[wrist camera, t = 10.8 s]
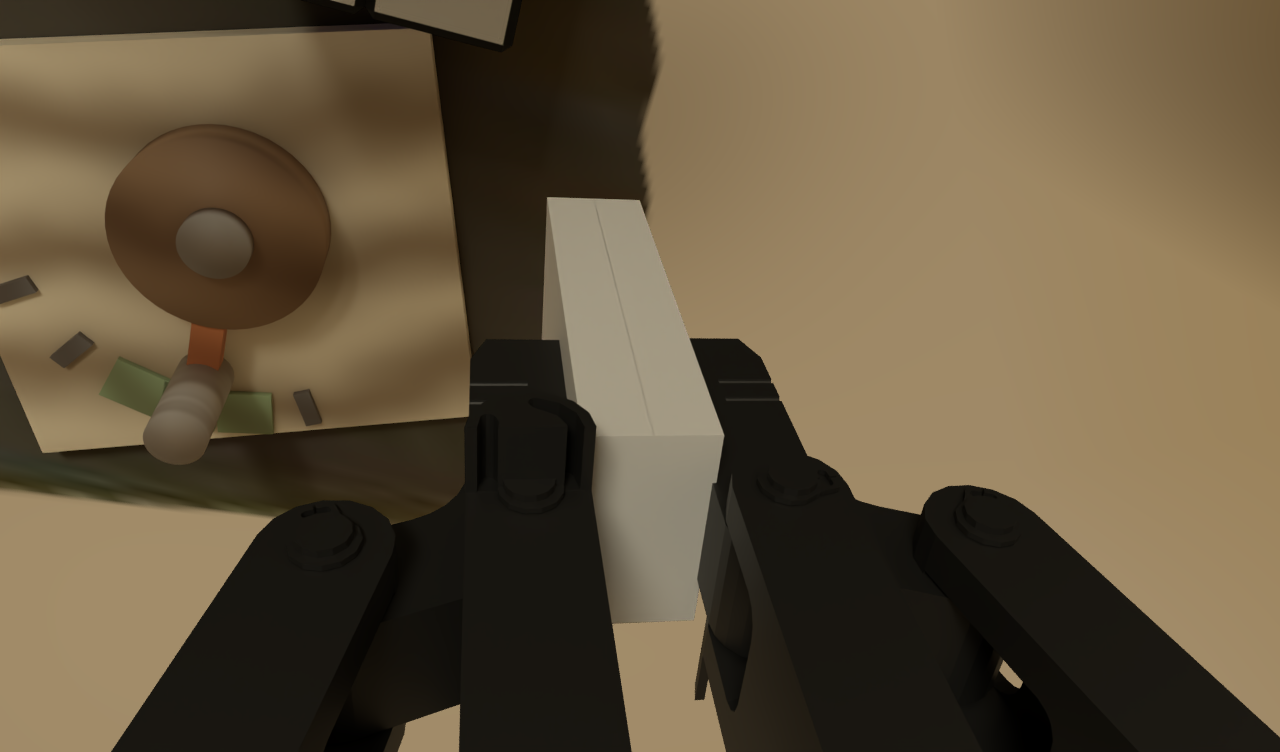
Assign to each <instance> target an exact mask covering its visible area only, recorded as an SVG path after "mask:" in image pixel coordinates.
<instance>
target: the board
mask: <svg viewBox="0 0 1280 752" xmlns="http://www.w3.org/2000/svg"><path fill="white" fill-rule="evenodd" d="M198 124H217V125H227V126H232V127H237V128H241V129H244V130H248V131H251V132H254V133H256V134H258V135H261V136H263V137H265V138H267V139H269V140H271V141H272V142H274V143H276V144H277V145H279V146H281V147H282V148H283V149H285V150H286V151H287V152H289V153H290V154H291V155H293V156H294V157H295V158H296V159H297V160H298V161H299V162H300V163H301V164H302V165H303V166H304V167H305V168H306V170H307V171H308V172H309V173H310V174H311V176H312V177H313V179H314V180H315V182H316V183H317V185H318V186H319V188H320V190H321V192H322V194H323V196H324V198H325V201H326V204H327V207H328V210H329V216H330V221H331V241H330V248H329V251H328V255H327V258H326V261H325V264H324V268H323V271H322V274H321V276H320V279H319V281H318V283H317V285H316V287H315V289H314V290H313V292H312V293H311V295H310V296H309V297H308V298H307V299H306V301H305V302H304V303H303V304H302V305H301V306H300V307H298V308H297V309H296V310H295V311H294V312H292V313H290V314H289V315H287V316H286V317H284V318H282V319H280V320H278V321H275V322H273V323H270V324H267V325H264V326H260V327H255V328H250V329H238V330H229V329H227V335H226V342H225V350H224V357H223V358H224V359H226V360H227V361H228V362H229V363H230V365H231V366H232V368H233V370H234V376H235V377H234V383H233V385H232V387H231V390H230V392H229V395H228V397H227V399H226V402H225V404H224V407H223V409H222V412H221V414H220V416H219V419H218V421H217V424H216V426H215V428H214V431H213V433H212V436H211V438H210V439H212V438H224V437H236V436H247V435H259V434H273V433H282V432H294V431H306V430H317V429H329V428H341V427H353V426H364V425H376V424H388V423H399V422H411V421H423V420H434V419H446V418H458V417H469V388H470V359H471V358H472V356H471V348H470V340H469V331H468V323H467V315H466V307H465V299H464V291H463V283H462V275H461V267H460V258H459V250H458V242H457V234H456V226H455V218H454V210H453V202H452V194H451V186H450V177H449V169H448V161H447V153H446V145H445V137H444V129H443V121H442V113H441V105H440V96H439V88H438V80H437V72H436V64H435V56H434V48H433V40H432V34H429V33H425V32H421V31H417V30H414V29H410V28H406V27H402V26H398V25H394V24H391V23H387V24H362V25H337V26H313V27H288V28H263V29H238V30H213V31H188V32H164V33H139V34H114V35H89V36H64V37H40V38H15V39H0V356H1V358H2V360H3V363H4V365H5V367H6V370H7V372H8V374H9V377H10V379H11V381H12V383H13V386H14V388H15V390H16V393H17V395H18V397H19V400H20V402H21V404H22V406H23V409H24V411H25V413H26V416H27V418H28V420H29V423H30V425H31V427H32V429H33V432H34V434H35V436H36V439H37V441H38V443H39V446H40V448H41V450H42V452H43V453H48V452H60V451H72V450H84V449H95V448H107V447H119V446H130V445H142V444H144V442H143V432H144V430H145V428H146V426H147V424H148V422H149V420H150V418H151V416H152V414H153V412H154V410H155V408H156V407H157V405H158V403H159V401H160V399H161V397H162V395H163V393H164V391H165V389H166V387H167V385H168V383H169V382H170V380H171V378H172V376H173V374H174V372H175V370H176V368H177V366H178V364H179V362H180V361H181V359H182V358H183V357H184V356H186V355H187V354H188V348H189V340H190V331H191V323H190V322H188V321H185V320H182V319H180V318H178V317H176V316H173V315H171V314H169V313H167V312H166V311H164V310H162V309H161V308H159V307H158V306H156V305H154V304H153V303H152V302H151V301H149V300H148V299H147V298H145V297H144V296H143V295H142V294H141V293H140V292H139V291H138V290H137V289H136V288H135V287H134V286H133V285H132V284H131V283H130V282H129V280H128V279H127V278H126V277H125V275H124V274H123V272H122V271H121V269H120V268H119V266H118V265H117V263H116V261H115V259H114V257H113V254H112V252H111V250H110V247H109V243H108V240H107V236H106V230H105V208H106V201H107V198H108V195H109V192H110V189H111V187H112V185H113V183H114V182H115V180H116V178H117V177H118V175H119V174H120V173H121V171H122V170H123V169H124V168H125V166H126V165H127V164H128V163H129V162H130V161H131V160H132V159H133V158H134V157H135V156H136V154H137V153H138V152H139V151H140V150H141V149H143V148H144V147H145V146H146V145H147V144H148V143H149V142H151V141H152V140H154V139H155V138H157V137H158V136H160V135H162V134H165V133H167V132H169V131H171V130H175V129H178V128H181V127H185V126H191V125H198Z"/></svg>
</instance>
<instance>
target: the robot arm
mask: <svg viewBox="0 0 1280 752" xmlns="http://www.w3.org/2000/svg"><path fill="white" fill-rule="evenodd" d="M464 433H465V484H464V485H463V487H462V489H461V490H460V492H459V493H458V495H457V496H455V497H454V498H453V499H452V500H451V501H450V502H449V503H448V504H446V505H445V506H443V507H441V508H440V509H438V510H436V511H434V512H432V513H430V514H428V515H425V516H422V517H419V518H416V519H413V520H409V521H405V522H401V523H397V524H393V525H391V524H390V522H389V519H388V518H386V517H385V516H383V515H382V514H381V513H379V512H378V511H377V510H375V509H374V508H373V507H370V506H366V505H363V504H359V503H356V502H352V501H319V502H315V503H310V504H306V505H302V506H298V507H295V508H293V509H291V510H289V511H287V512H285V513H283V514H281V515H280V516H278V517H276V518H274V519H273V520H272V521H271V522H270V523H269V524H268V525H267V526H266V527H265V528H263V530H261V531H260V532H259V533H258V534H257V536H256V537H255V539H254V540H253V542H252V543H251V545H250V546H249V548H248V549H247V551H246V552H245V554H244V555H243V557H242V558H241V560H240V561H239V563H238V564H237V566H236V567H235V568H234V570H233V571H232V573H231V574H230V576H229V577H228V579H227V580H226V582H225V583H224V585H223V586H222V588H221V589H220V591H219V592H218V594H217V595H216V597H215V598H214V600H213V601H212V603H211V604H210V606H209V607H208V609H207V610H206V612H205V613H204V615H203V616H202V617H201V619H200V620H199V622H198V623H197V625H196V626H195V628H194V629H193V631H192V632H191V634H190V635H189V637H188V638H187V640H186V641H185V643H184V644H183V646H182V647H181V649H180V650H179V652H178V653H177V655H176V656H175V658H174V659H173V661H172V662H171V664H170V665H169V667H168V668H167V670H166V671H165V673H164V674H163V676H162V677H161V678H160V680H159V682H158V683H157V684H156V686H155V687H154V689H153V690H152V692H151V694H150V695H149V696H148V698H147V699H146V701H145V703H144V704H143V705H142V707H141V708H140V710H139V711H138V713H137V714H136V716H135V717H134V719H133V720H132V722H131V723H130V725H129V726H128V728H127V729H126V731H125V732H124V734H123V735H122V736H121V738H120V739H119V741H118V742H117V744H116V745H115V747H114V748H113V750H112V751H111V752H398V749H399V746H400V744H401V741H402V738H403V736H404V731H405V724H406V723H407V722H409V721H412V720H415V719H418V718H421V717H424V716H427V715H430V714H433V713H436V712H438V711H441V710H444V709H447V708H450V707H453V706H456V705H459V704H460V736H459V752H631V745H630V738H629V732H628V725H627V719H626V712H625V705H624V699H623V692H622V686H621V679H620V673H619V667H618V660H617V653H616V646H615V640H614V633H613V628H612V624H613V623H637V622H638V623H639V622H662V621H687V620H694V617H695V611H696V604H697V598H698V592H699V588H700V592H701V595H702V600H703V603H704V607H705V611H706V615H707V619H706V624H705V630H704V636H703V642H702V648H701V653H700V659H699V665H698V671H697V676H696V682H695V700H704V698H705V692H706V687H707V681H708V679H709V683H710V687H711V691H712V695H713V699H714V704H715V707H716V712H717V716H718V720H719V724H720V728H721V732H722V736H723V741H724V744H725V749H726V752H1280V737H1279V736H1278V735H1276V733H1274V732H1273V731H1272V730H1271V729H1270V728H1269V727H1268V726H1267V725H1266V724H1265V723H1263V722H1262V721H1261V720H1260V719H1259V718H1258V717H1257V716H1256V715H1255V714H1253V713H1252V712H1251V711H1250V710H1249V709H1248V708H1247V707H1246V706H1245V705H1244V704H1243V703H1242V702H1240V701H1239V700H1238V699H1237V698H1236V697H1235V696H1234V695H1233V694H1232V693H1231V692H1230V691H1229V690H1227V689H1226V688H1225V687H1224V686H1223V685H1222V684H1221V683H1220V682H1219V681H1218V680H1216V679H1215V678H1214V677H1213V676H1212V675H1211V674H1210V673H1209V672H1208V671H1207V670H1206V669H1204V668H1203V667H1202V666H1201V665H1200V664H1199V663H1198V662H1197V661H1196V660H1195V659H1194V658H1193V657H1191V656H1190V655H1189V654H1188V653H1187V652H1186V651H1185V650H1184V649H1182V648H1181V646H1179V645H1178V644H1177V643H1176V642H1175V641H1174V640H1173V639H1172V638H1171V637H1169V635H1167V634H1166V633H1165V632H1164V631H1163V630H1162V629H1161V628H1160V627H1159V626H1158V625H1156V624H1155V623H1154V622H1153V621H1152V620H1151V619H1150V618H1149V617H1148V616H1147V615H1146V614H1144V613H1143V612H1142V611H1141V610H1140V609H1139V608H1138V607H1137V606H1136V605H1135V604H1134V603H1132V602H1131V601H1130V600H1129V599H1128V598H1127V597H1126V596H1125V595H1124V594H1123V593H1121V592H1120V591H1119V590H1118V589H1117V588H1116V587H1115V586H1114V585H1113V584H1112V583H1111V582H1110V581H1108V580H1107V579H1106V578H1105V577H1104V576H1103V575H1102V574H1101V573H1100V572H1099V571H1097V570H1096V569H1095V568H1094V567H1093V566H1092V565H1091V564H1090V563H1089V562H1087V560H1085V559H1084V558H1083V557H1082V556H1081V555H1080V554H1079V553H1078V552H1077V551H1076V550H1075V549H1073V548H1072V547H1071V546H1070V545H1069V544H1068V543H1067V542H1066V541H1065V540H1064V539H1063V538H1061V537H1060V536H1059V535H1058V534H1057V533H1056V532H1055V531H1054V530H1053V529H1052V528H1051V527H1049V526H1048V525H1047V524H1046V523H1045V522H1044V521H1043V520H1042V519H1040V517H1038V516H1037V515H1036V514H1035V513H1034V512H1033V511H1031V510H1030V509H1028V508H1027V507H1025V506H1024V505H1023V504H1021V503H1020V502H1018V501H1017V500H1016V499H1013V498H1011V497H1008V496H1006V495H1004V494H1001V493H999V492H997V491H994V490H991V489H986V488H980V487H976V486H971V485H964V486H948V487H945V488H943V489H940V490H938V491H936V492H933V493H932V494H931V496H930V497H929V499H928V500H927V501H926V502H925V504H924V507H923V510H922V513H921V515H919V514H914V513H909V512H904V511H898V510H894V509H888V508H884V507H879V506H875V505H872V504H868V503H864V502H861V501H858V500H856V499H855V498H854V496H853V494H852V492H851V490H850V488H849V486H848V485H847V483H846V482H845V481H844V480H843V478H842V477H841V476H840V475H839V473H838V472H837V471H836V470H834V469H833V468H831V467H830V466H828V465H826V464H825V463H823V462H822V461H820V460H818V459H815V458H812V457H809V456H807V454H806V452H805V450H804V448H803V446H802V444H801V441H800V439H799V437H798V435H797V433H796V431H795V429H794V426H793V424H792V422H791V420H790V418H789V416H788V414H787V412H786V410H785V407H784V405H783V403H782V401H779V395H778V393H777V390H776V388H775V387H774V384H773V383H771V378H770V376H769V374H768V371H767V370H766V367H765V365H764V363H763V361H762V359H761V357H760V356H758V355H757V354H756V353H755V352H753V351H752V350H751V349H750V348H749V347H747V346H746V345H745V344H744V343H742V342H741V341H740V340H739V339H700V338H699V339H698V338H697V339H695V338H694V339H693V338H689V337H688V333H687V331H686V328H685V325H684V322H683V320H682V317H681V314H680V311H679V309H678V306H677V303H676V300H675V297H674V295H673V292H672V290H671V286H670V284H669V281H668V278H667V275H666V272H665V270H664V267H663V264H662V261H661V259H660V256H659V253H658V250H657V248H656V245H655V242H654V239H653V236H652V234H651V231H650V228H649V225H648V223H647V220H646V217H645V214H644V211H643V209H642V206H641V203H640V200H618V199H586V198H555V197H547V217H546V243H545V270H544V296H543V323H542V340H496V339H486V340H485V342H484V343H483V344H482V345H481V346H480V348H479V349H478V350H477V351H476V353H475V354H474V355H473V356H472V358H471V359H470V388H469V417H468V420H467V422H466V425H465V428H464ZM1003 660H1004V661H1005V662H1006V663H1007V664H1008V665H1009V667H1010V668H1011V669H1012V670H1013V671H1014V672H1015V673H1016V674H1017V676H1018V677H1019V678H1020V679H1021V680H1022V681H1023V683H1022V686H1021V688H1020V689H1019V688H1017V687H1014V686H1013V685H1012V684H1011V683H1010V682H1009V681H1008V680H1006V678H1005V677H1004V676H1003V675H1002V674H1001V673H1000V671H999V669H1000V667H1001V664H1002V662H1003Z"/></svg>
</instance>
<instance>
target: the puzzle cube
mask: <svg viewBox="0 0 1280 752" xmlns="http://www.w3.org/2000/svg"><path fill="white" fill-rule="evenodd" d="M302 1H306V2H310V3H314V4H318V5H321V6H325V7H329V8H333V9H337V10H341V11H344V12H348V13H352V14H355V13H356V12H358V11H359V10H361V9H362V8H364V7H365V8H366V9H367V11H368V12H369V14H370V15H371V16H372V18H373V19H375V20H379V21H383V22H387V23H391V24H394V25H398V26H402V27H406V28H410V29H414V30H417V31H421V32H425V33H429V34H433V35H437V36H440V37H444V38H448V39H452V40H456V41H460V42H463V43H467V44H471V45H475V46H479V47H483V48H486V49H490V50H494V51H498V52H503V51H504V50H506V49H507V48H509V47H511V46H512V44H513V39H514V35H515V30H516V25H517V21H518V16H519V11H520V7H521V2H522V0H302Z"/></svg>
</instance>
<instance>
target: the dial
mask: <svg viewBox="0 0 1280 752" xmlns="http://www.w3.org/2000/svg"><path fill="white" fill-rule="evenodd" d="M105 230H106V236H107V240H108V243H109V247H110V250H111V252H112V254H113V257H114V259H115V261H116V263H117V265H118V266H119V268H120V269H121V271H122V272H123V274H124V275H125V277H126V278H127V279H128V280H129V282H130V283H131V284H132V285H133V286H134V287H135V288H136V289H137V290H138V291H139V292H140V293H141V294H142V295H143V296H144V297H145V298H147V299H148V300H149V301H151V302H152V303H153V304H154V305H156V306H158V307H159V308H161V309H162V310H164V311H166V312H167V313H169V314H171V315H173V316H176V317H178V318H180V319H182V320H185V321H188V322H190V323H191V331H190V340H189V348H188V354H187V355H186V356H184V357H183V358H182V359H181V361H180V362H179V364H178V366H177V368H176V370H175V372H174V374H173V376H172V378H171V380H170V382H169V383H168V385H167V387H166V389H165V391H164V393H163V395H162V397H161V399H160V401H159V403H158V405H157V407H156V408H155V410H154V412H153V414H152V416H151V418H150V420H149V422H148V424H147V426H146V428H145V430H144V432H143V442H144V445H145V447H146V449H147V450H148V451H149V453H150V454H152V455H153V456H154V457H155V458H157V459H159V460H161V461H163V462H166V463H169V464H175V465H184V464H189V463H192V462H194V461H196V460H198V459H199V458H201V456H202V455H203V454H204V452H205V450H206V448H207V445H208V443H209V441H210V438H211V436H212V433H213V431H214V428H215V426H216V424H217V421H218V419H219V416H220V414H221V412H222V409H223V407H224V404H225V402H226V399H227V397H228V395H229V392H230V390H231V387H232V385H233V383H234V377H235V376H234V370H233V368H232V366H231V365H230V363H229V362H228V361H227V360H226V359H224V358H223V357H224V350H225V342H226V335H227V329H229V330H238V329H250V328H255V327H260V326H264V325H267V324H270V323H273V322H275V321H278V320H280V319H282V318H284V317H286V316H287V315H289V314H290V313H292V312H294V311H295V310H296V309H297V308H298V307H300V306H301V305H302V304H303V303H304V302H305V301H306V299H307V298H308V297H309V296H310V295H311V293H312V292H313V290H314V289H315V287H316V285H317V283H318V281H319V279H320V276H321V274H322V271H323V268H324V264H325V261H326V258H327V255H328V251H329V248H330V241H331V221H330V216H329V210H328V207H327V204H326V201H325V198H324V196H323V194H322V192H321V190H320V188H319V186H318V185H317V183H316V182H315V180H314V179H313V177H312V176H311V174H310V173H309V172H308V171H307V170H306V168H305V167H304V166H303V165H302V164H301V163H300V162H299V161H298V160H297V159H296V158H295V157H294V156H293V155H291V154H290V153H289V152H287V151H286V150H285V149H283V148H282V147H281V146H279V145H277V144H276V143H274V142H272V141H271V140H269V139H267V138H265V137H263V136H261V135H258V134H256V133H254V132H251V131H248V130H244V129H241V128H237V127H232V126H227V125H217V124H198V125H191V126H185V127H181V128H178V129H175V130H171V131H169V132H167V133H165V134H162V135H160V136H158V137H157V138H155V139H154V140H152V141H151V142H149V143H148V144H147V145H146V146H145V147H144V148H143V149H141V150H140V151H139V152H138V153H137V154H136V156H135V157H134V158H133V159H132V160H131V161H130V162H129V163H128V164H127V165H126V166H125V168H124V169H123V170H122V171H121V173H120V174H119V175H118V177H117V178H116V180H115V182H114V183H113V185H112V187H111V189H110V192H109V195H108V198H107V201H106V208H105Z"/></svg>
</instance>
